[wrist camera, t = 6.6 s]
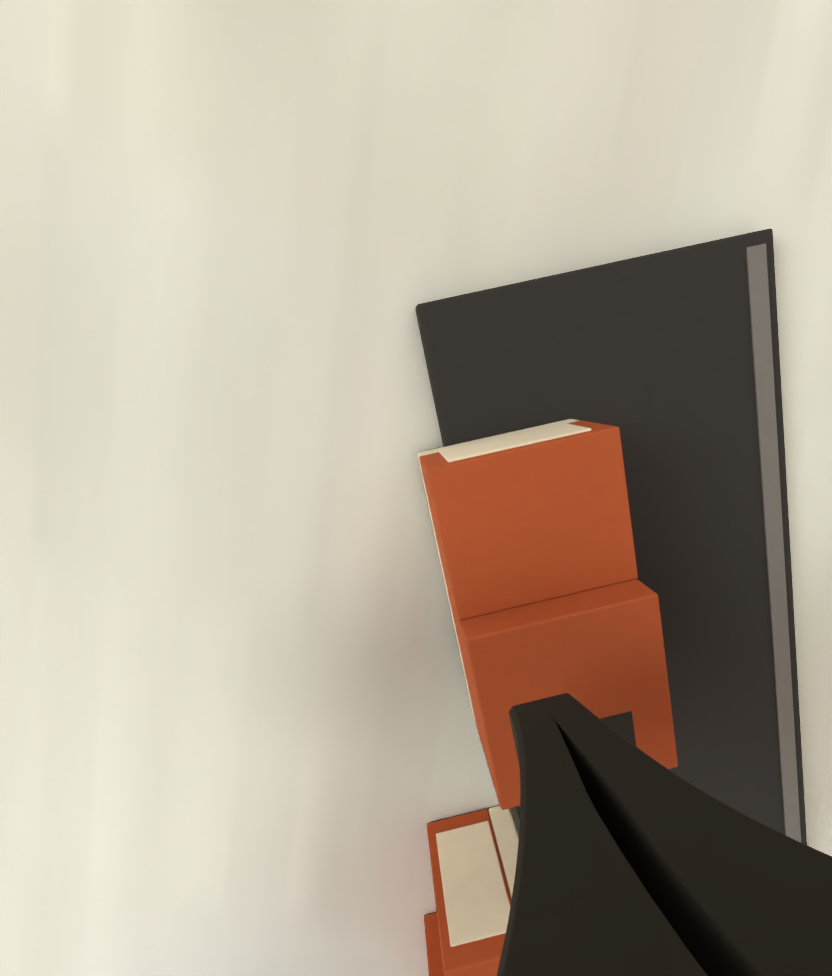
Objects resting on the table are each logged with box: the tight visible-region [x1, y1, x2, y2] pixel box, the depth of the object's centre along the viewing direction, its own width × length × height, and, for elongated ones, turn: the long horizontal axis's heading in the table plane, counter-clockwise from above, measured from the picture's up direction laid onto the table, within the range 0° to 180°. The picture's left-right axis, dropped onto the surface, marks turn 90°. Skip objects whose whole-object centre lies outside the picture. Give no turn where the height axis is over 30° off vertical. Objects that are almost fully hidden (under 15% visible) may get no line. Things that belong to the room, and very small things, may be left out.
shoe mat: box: [416, 229, 807, 845], centre depth 18 cm, size 11×28×1 cm, turn 12°
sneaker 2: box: [417, 419, 678, 810], centre depth 15 cm, size 4×10×5 cm
